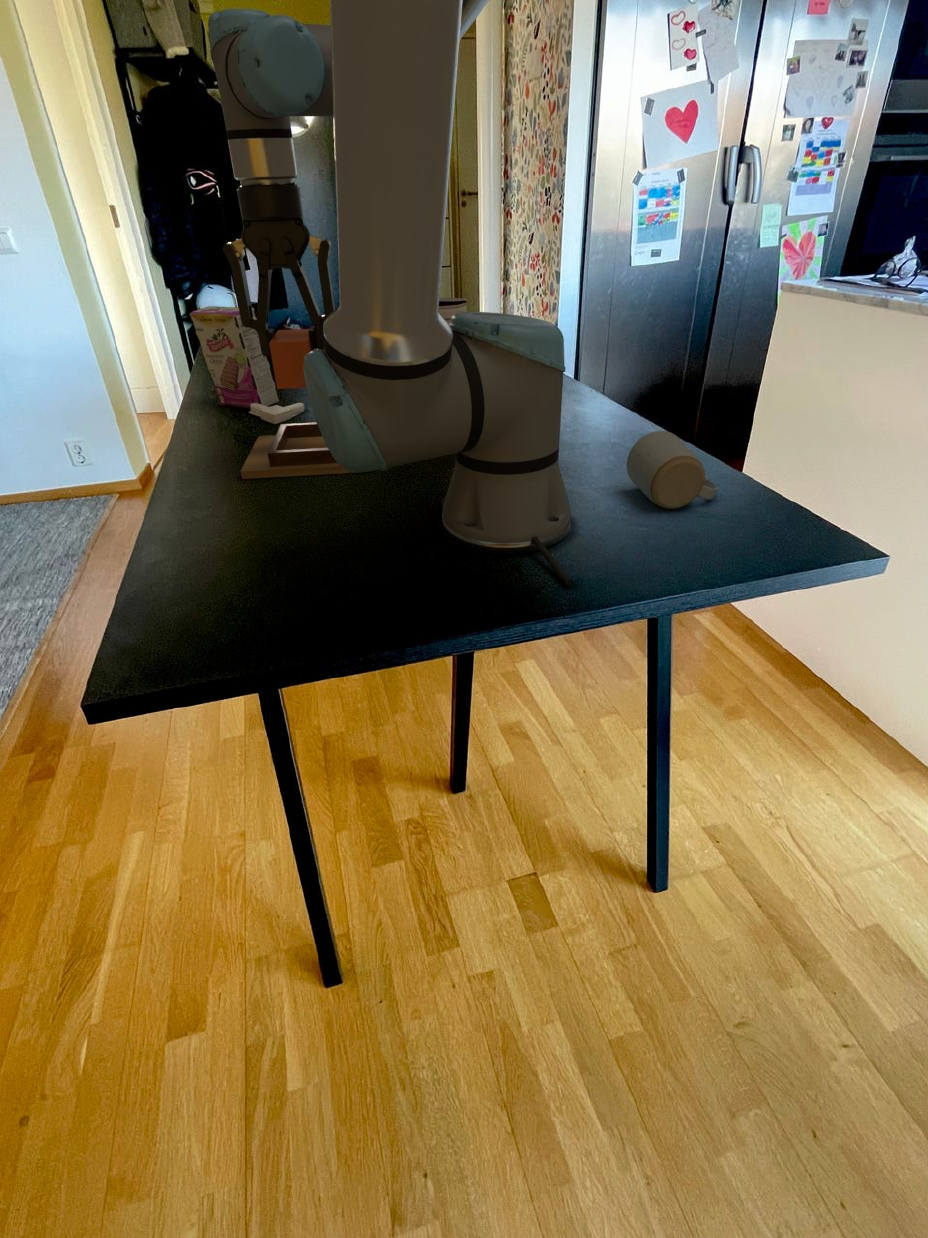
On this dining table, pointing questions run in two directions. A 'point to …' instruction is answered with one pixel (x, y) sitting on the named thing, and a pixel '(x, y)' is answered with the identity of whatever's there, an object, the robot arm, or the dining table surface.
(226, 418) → the dining table surface
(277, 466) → the wooden board with frame
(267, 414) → the corner connector
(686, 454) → the ceramic mug
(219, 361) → the candy bar box
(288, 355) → the orange block
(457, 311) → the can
